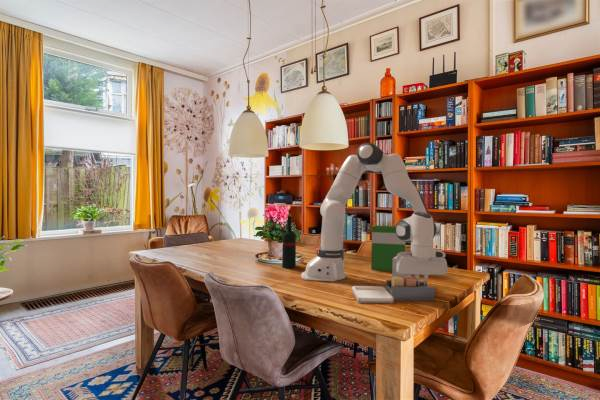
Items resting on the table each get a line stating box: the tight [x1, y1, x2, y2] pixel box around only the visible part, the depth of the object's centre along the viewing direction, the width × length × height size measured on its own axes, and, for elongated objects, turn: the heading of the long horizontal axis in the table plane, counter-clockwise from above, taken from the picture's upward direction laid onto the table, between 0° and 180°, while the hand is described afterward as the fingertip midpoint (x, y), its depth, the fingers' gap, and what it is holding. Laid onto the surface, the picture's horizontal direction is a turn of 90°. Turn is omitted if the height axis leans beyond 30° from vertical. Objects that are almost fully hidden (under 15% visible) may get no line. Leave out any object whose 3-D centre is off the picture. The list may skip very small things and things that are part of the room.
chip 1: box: [390, 275, 404, 286], centre depth 140 cm, size 4×4×4 cm
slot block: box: [385, 279, 436, 302], centre depth 140 cm, size 17×10×6 cm, turn 90°
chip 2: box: [403, 276, 417, 286], centre depth 140 cm, size 4×4×4 cm
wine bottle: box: [281, 213, 297, 270], centre depth 193 cm, size 8×10×30 cm
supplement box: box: [391, 256, 412, 278], centre depth 159 cm, size 7×7×13 cm
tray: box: [351, 285, 395, 304], centre depth 140 cm, size 14×16×2 cm
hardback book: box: [370, 225, 406, 272], centre depth 188 cm, size 18×7×24 cm, turn 75°
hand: (420, 284), depth 140 cm, fingers closed
